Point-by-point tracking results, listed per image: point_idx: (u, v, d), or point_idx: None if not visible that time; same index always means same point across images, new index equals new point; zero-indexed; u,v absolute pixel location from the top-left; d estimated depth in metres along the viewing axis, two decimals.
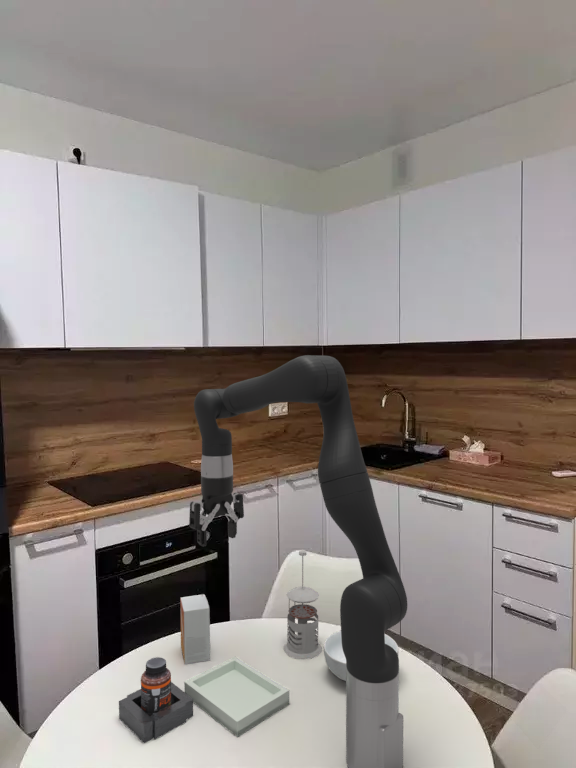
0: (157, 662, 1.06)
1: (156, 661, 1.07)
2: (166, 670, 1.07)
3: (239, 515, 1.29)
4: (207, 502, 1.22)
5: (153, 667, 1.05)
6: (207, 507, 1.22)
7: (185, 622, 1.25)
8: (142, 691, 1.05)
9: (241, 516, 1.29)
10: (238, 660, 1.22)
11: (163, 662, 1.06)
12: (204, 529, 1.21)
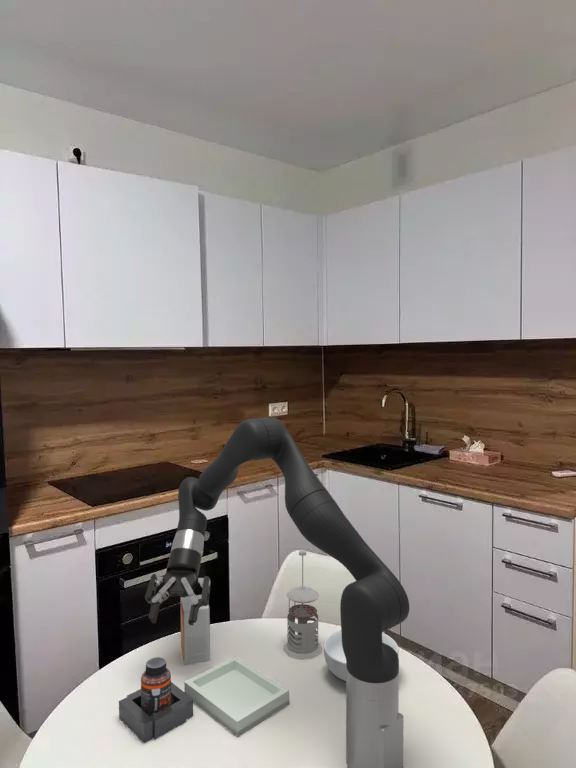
0: (157, 662, 1.06)
1: (156, 661, 1.07)
2: (166, 670, 1.07)
3: None
4: (165, 575, 1.23)
5: (153, 667, 1.05)
6: (164, 580, 1.22)
7: (185, 622, 1.25)
8: (142, 691, 1.05)
9: (202, 599, 1.18)
10: (238, 660, 1.22)
11: (163, 662, 1.06)
12: (154, 601, 1.19)
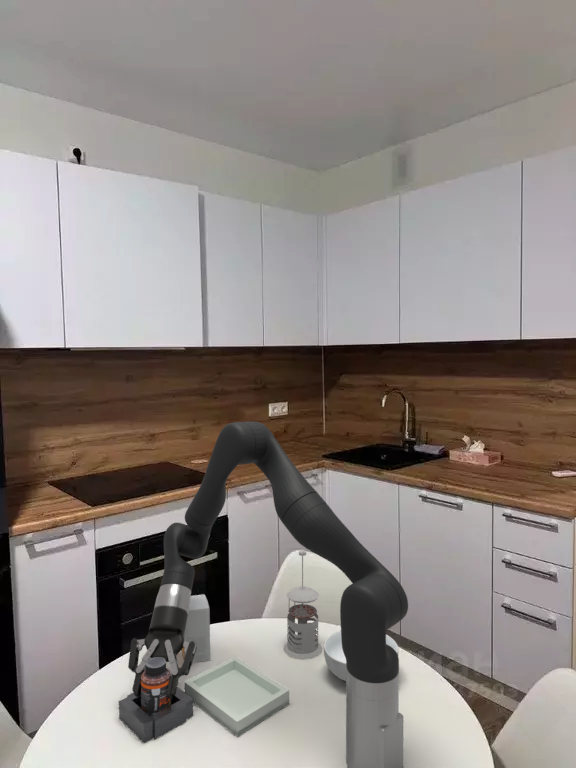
0: (156, 662, 1.06)
1: (155, 661, 1.07)
2: (166, 670, 1.07)
3: (181, 668, 1.07)
4: (146, 637, 1.12)
5: (153, 667, 1.05)
6: (146, 643, 1.11)
7: None
8: (142, 691, 1.05)
9: (182, 669, 1.07)
10: (238, 660, 1.22)
11: (163, 662, 1.06)
12: (139, 671, 1.07)
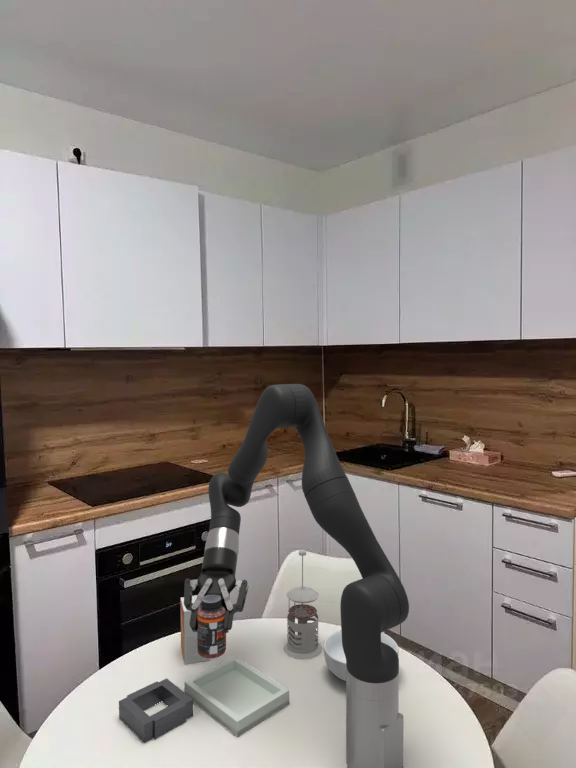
0: (212, 598, 1.09)
1: (211, 597, 1.10)
2: (221, 606, 1.10)
3: (236, 604, 1.10)
4: (199, 577, 1.15)
5: (209, 602, 1.08)
6: (200, 582, 1.14)
7: (185, 622, 1.25)
8: (199, 625, 1.08)
9: (237, 604, 1.10)
10: (238, 660, 1.22)
11: (219, 598, 1.09)
12: (194, 608, 1.10)
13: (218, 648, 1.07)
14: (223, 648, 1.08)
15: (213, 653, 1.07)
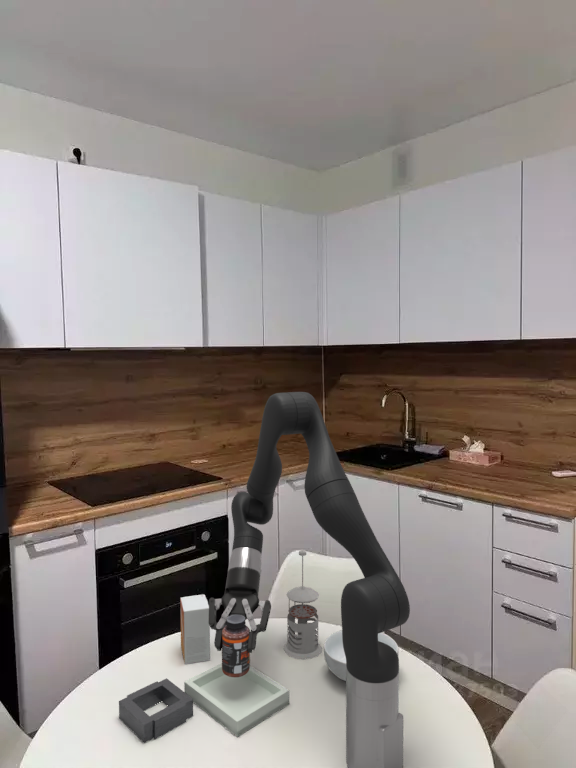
0: (236, 618, 1.12)
1: (235, 617, 1.12)
2: (245, 626, 1.12)
3: (259, 624, 1.13)
4: (223, 597, 1.17)
5: (234, 623, 1.10)
6: (224, 602, 1.16)
7: (185, 622, 1.25)
8: (224, 645, 1.10)
9: (261, 625, 1.12)
10: None
11: (243, 619, 1.12)
12: (219, 627, 1.13)
13: (242, 667, 1.10)
14: (247, 667, 1.11)
15: (237, 672, 1.10)
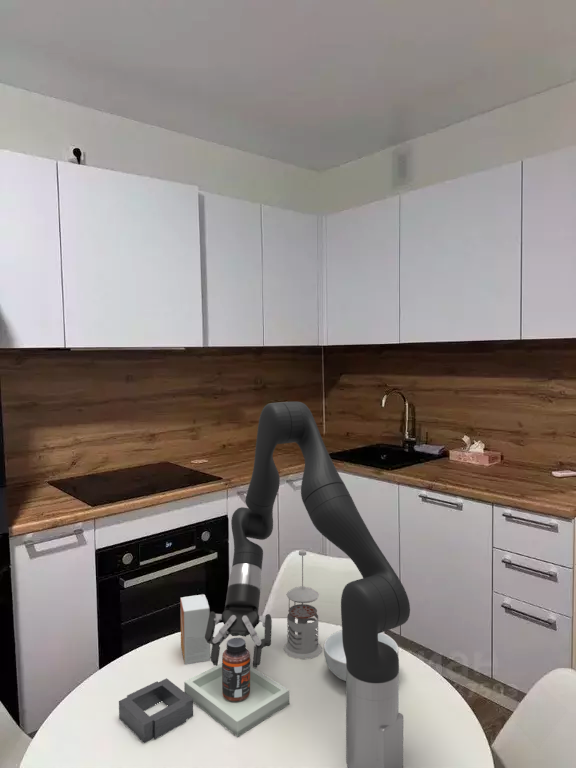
0: (237, 642, 1.12)
1: (236, 641, 1.13)
2: (246, 649, 1.13)
3: (264, 639, 1.13)
4: (224, 613, 1.17)
5: (234, 646, 1.10)
6: (223, 618, 1.16)
7: (185, 622, 1.25)
8: (224, 669, 1.10)
9: (266, 640, 1.13)
10: None
11: (243, 642, 1.12)
12: (215, 642, 1.13)
13: (242, 691, 1.10)
14: (247, 691, 1.11)
15: (238, 696, 1.10)
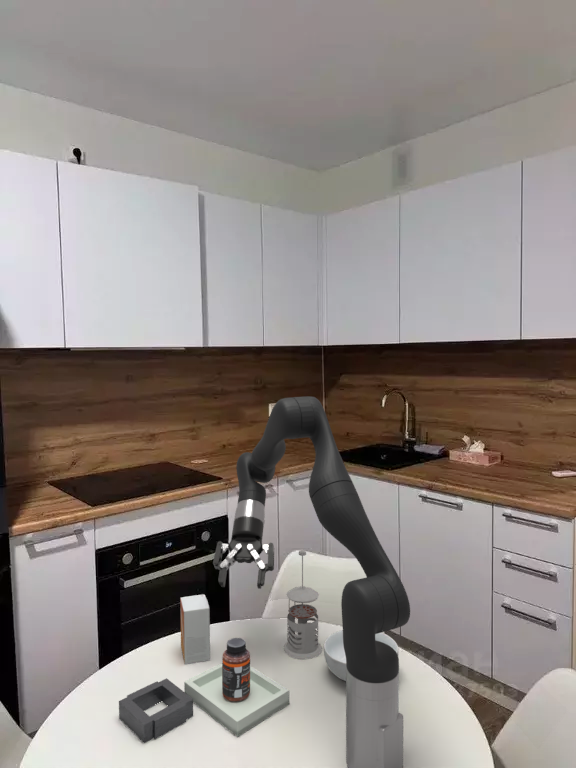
0: (237, 642, 1.12)
1: (236, 641, 1.13)
2: (246, 650, 1.12)
3: (267, 563, 1.23)
4: (230, 542, 1.28)
5: (235, 647, 1.10)
6: (230, 547, 1.27)
7: (185, 622, 1.25)
8: (224, 669, 1.10)
9: (269, 564, 1.23)
10: None
11: (243, 642, 1.12)
12: (222, 566, 1.24)
13: (242, 691, 1.10)
14: (247, 691, 1.11)
15: (238, 696, 1.10)
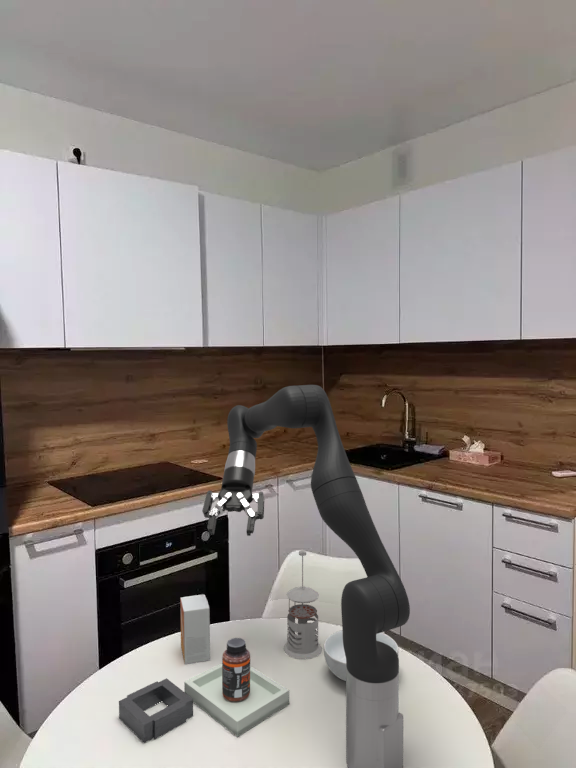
0: (237, 642, 1.12)
1: (236, 641, 1.13)
2: (246, 650, 1.12)
3: (257, 511, 1.23)
4: (220, 492, 1.27)
5: (235, 647, 1.10)
6: (219, 496, 1.26)
7: (185, 622, 1.25)
8: (224, 669, 1.10)
9: (259, 512, 1.22)
10: None
11: (243, 642, 1.12)
12: (211, 514, 1.23)
13: (243, 691, 1.10)
14: (247, 691, 1.11)
15: (238, 696, 1.10)
